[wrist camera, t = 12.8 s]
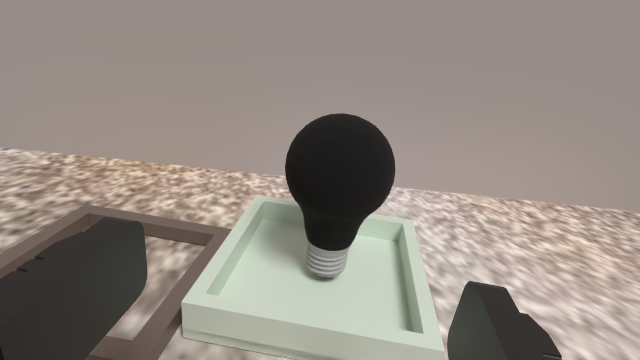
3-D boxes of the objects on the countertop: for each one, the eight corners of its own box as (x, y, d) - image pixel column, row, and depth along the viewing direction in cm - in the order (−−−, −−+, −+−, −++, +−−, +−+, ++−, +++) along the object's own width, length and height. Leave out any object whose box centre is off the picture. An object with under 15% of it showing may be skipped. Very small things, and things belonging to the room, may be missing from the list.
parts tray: (183, 337, 17) (181, 302, 16) (255, 219, 28) (256, 194, 27) (432, 386, 16) (444, 351, 15) (406, 244, 27) (412, 220, 26)
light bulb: (292, 240, 25) (306, 98, 21) (374, 259, 24) (405, 113, 20) (261, 294, 20) (273, 117, 16) (366, 321, 19) (406, 139, 15)
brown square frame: (-95, 333, 16) (-103, 315, 15) (87, 216, 26) (85, 204, 25) (142, 381, 15) (140, 365, 14) (233, 241, 25) (234, 229, 25)
